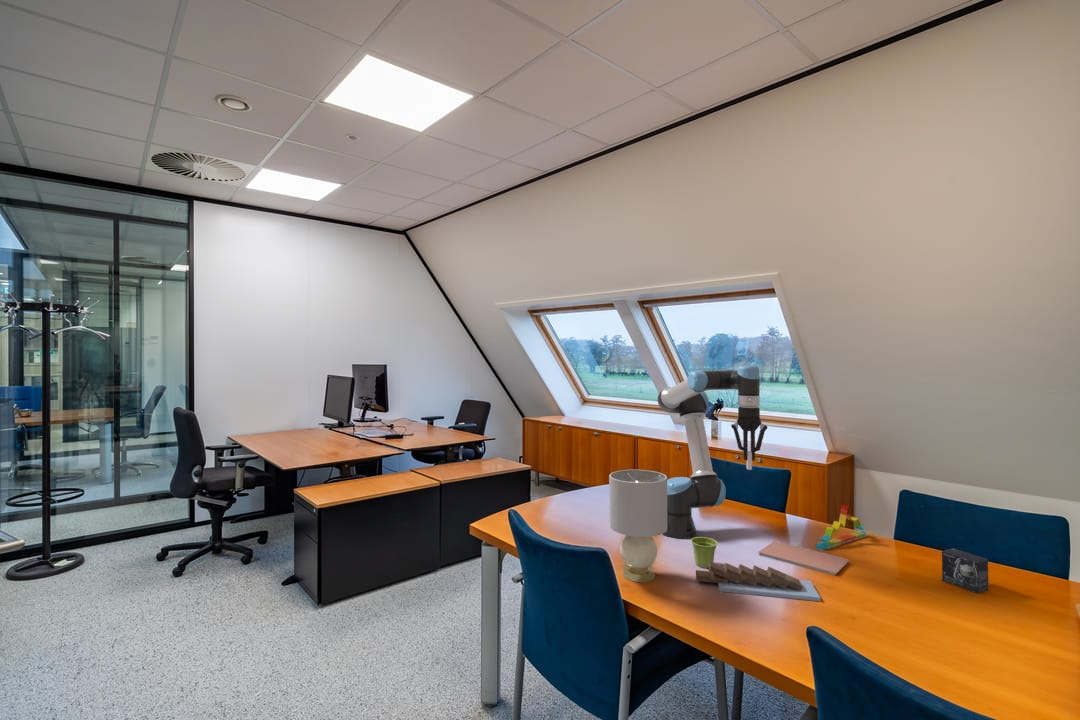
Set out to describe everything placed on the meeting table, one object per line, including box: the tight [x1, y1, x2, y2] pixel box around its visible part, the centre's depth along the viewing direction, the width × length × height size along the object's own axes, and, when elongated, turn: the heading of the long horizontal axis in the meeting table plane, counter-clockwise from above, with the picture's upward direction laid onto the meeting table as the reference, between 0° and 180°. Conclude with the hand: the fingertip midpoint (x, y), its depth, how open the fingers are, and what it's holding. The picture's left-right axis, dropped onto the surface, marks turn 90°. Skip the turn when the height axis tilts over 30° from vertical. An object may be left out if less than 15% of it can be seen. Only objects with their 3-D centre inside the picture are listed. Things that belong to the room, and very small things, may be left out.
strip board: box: [717, 579, 821, 602], centre depth 169 cm, size 30×12×1 cm, turn 76°
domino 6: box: [766, 566, 803, 591], centre depth 167 cm, size 2×5×10 cm
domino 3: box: [723, 562, 757, 586], centre depth 171 cm, size 2×5×10 cm
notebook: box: [757, 540, 850, 576], centre depth 193 cm, size 27×17×2 cm, turn 44°
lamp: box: [608, 469, 668, 583], centre depth 179 cm, size 20×20×35 cm
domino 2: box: [708, 561, 740, 584], centre depth 172 cm, size 2×5×10 cm
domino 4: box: [737, 563, 772, 588], centre depth 170 cm, size 2×5×10 cm
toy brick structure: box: [815, 504, 867, 551], centre depth 209 cm, size 30×3×15 cm, turn 119°
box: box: [941, 548, 990, 594], centre depth 169 cm, size 11×7×10 cm, turn 23°
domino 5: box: [751, 564, 787, 589], centre depth 169 cm, size 2×5×10 cm
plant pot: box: [690, 536, 718, 569], centre depth 188 cm, size 9×9×9 cm
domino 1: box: [695, 569, 728, 584], centre depth 173 cm, size 2×5×10 cm
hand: (749, 468), depth 192 cm, fingers closed
